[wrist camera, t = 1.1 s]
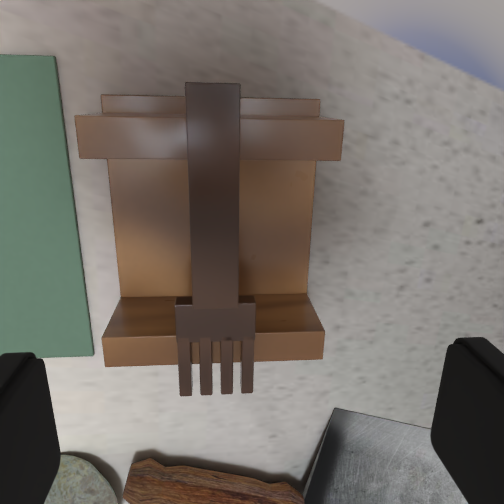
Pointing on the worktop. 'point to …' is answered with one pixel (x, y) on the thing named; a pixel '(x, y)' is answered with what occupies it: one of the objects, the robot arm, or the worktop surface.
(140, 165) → the rack
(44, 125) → the mat
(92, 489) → the soupspoon
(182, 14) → the worktop surface
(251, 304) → the fork
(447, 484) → the meat cleaver
